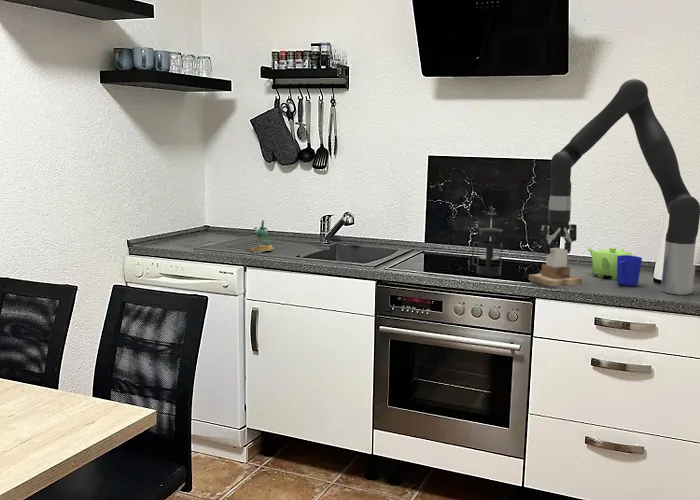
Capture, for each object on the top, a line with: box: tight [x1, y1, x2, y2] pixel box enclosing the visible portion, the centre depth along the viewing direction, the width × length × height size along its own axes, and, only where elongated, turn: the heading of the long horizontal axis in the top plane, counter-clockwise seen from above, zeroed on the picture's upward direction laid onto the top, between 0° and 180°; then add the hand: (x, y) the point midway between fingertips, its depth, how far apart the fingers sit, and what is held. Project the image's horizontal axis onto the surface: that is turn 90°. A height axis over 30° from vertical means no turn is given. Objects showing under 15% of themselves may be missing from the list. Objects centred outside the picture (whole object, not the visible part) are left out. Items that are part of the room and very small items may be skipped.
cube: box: [545, 247, 568, 267], centre depth 249 cm, size 5×5×6 cm
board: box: [528, 273, 583, 288], centre depth 250 cm, size 14×12×2 cm
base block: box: [540, 263, 571, 279], centre depth 250 cm, size 7×7×4 cm
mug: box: [616, 255, 643, 287], centre depth 246 cm, size 8×12×10 cm
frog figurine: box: [250, 220, 275, 251], centre depth 304 cm, size 10×18×15 cm, turn 157°
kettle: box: [586, 247, 632, 281], centre depth 261 cm, size 15×14×11 cm
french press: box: [471, 212, 504, 277], centre depth 263 cm, size 12×9×23 cm
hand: (557, 253), depth 249 cm, fingers open, 8 cm apart
